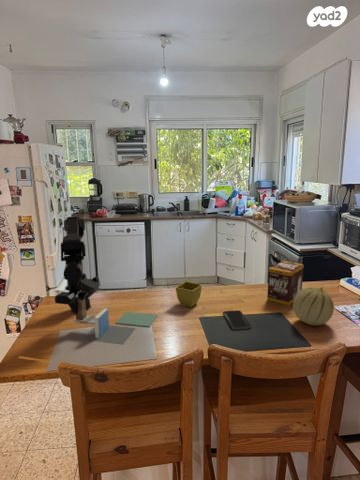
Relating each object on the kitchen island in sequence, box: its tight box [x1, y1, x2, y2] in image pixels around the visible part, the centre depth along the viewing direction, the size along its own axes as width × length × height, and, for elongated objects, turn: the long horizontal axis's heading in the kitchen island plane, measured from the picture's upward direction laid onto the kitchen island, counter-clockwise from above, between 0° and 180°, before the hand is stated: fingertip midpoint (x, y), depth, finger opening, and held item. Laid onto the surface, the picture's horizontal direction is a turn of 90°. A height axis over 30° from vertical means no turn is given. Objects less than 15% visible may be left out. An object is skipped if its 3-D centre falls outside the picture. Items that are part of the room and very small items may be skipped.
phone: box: [222, 310, 252, 331], centre depth 135 cm, size 8×1×15 cm
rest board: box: [115, 311, 158, 328], centre depth 136 cm, size 14×10×1 cm
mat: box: [81, 324, 137, 345], centre depth 125 cm, size 16×12×1 cm
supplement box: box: [267, 260, 305, 306], centre depth 155 cm, size 10×15×16 cm
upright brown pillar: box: [74, 299, 97, 326], centre depth 125 cm, size 9×5×8 cm, turn 76°
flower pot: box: [175, 281, 203, 308], centre depth 150 cm, size 9×9×9 cm
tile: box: [94, 307, 110, 338], centre depth 124 cm, size 2×8×8 cm, turn 166°
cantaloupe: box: [292, 286, 335, 326], centre depth 130 cm, size 15×15×15 cm
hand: (78, 312), depth 126 cm, fingers closed on upright brown pillar, 3 cm apart
